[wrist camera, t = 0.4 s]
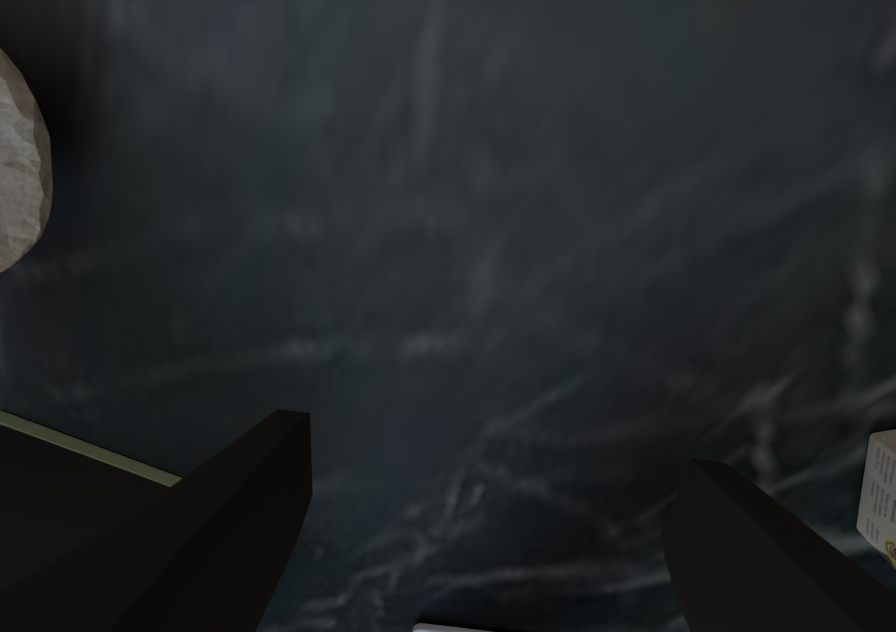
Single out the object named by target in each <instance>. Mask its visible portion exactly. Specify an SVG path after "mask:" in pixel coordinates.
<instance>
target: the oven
mask: <svg viewBox="0 0 896 632" xmlns="http://www.w3.org/2000/svg"><path fill="white" fill-rule="evenodd" d="M181 479H182V478H181V477H178V476H175V475H173V474H170V473H167V472H165V471H162V470H159V469H157V468H154V467H151V466H149V465H146V464H143V463H141V462H138V461H135V460H133V459H130V458H127V457H125V456H122V455H119V454H117V453H114V452H111V451H108V450H106V449H103V448H100V447H98V446H95V445H92V444H90V443H87V442H84V441H82V440H79V439H76V438H74V437H71V436H68V435H66V434H63V433H60V432H58V431H55V430H52V429H50V428H47V427H44V426H41V425H39V424H36V423H33V422H31V421H28V420H25V419H23V418H20V417H17V416H15V415H12V414H9V413H7V412H4V411H0V590H2V589H4V588H6V587H7V586H9V585H11V584H13V583H15V582H16V581H18V580H20V579H22V578H23V577H25V576H27V575H29V574H30V573H32V572H34V571H36V570H37V569H39V568H41V567H43V566H44V565H46V564H48V563H50V562H51V561H53V560H55V559H57V558H58V557H60V556H62V555H64V554H65V553H67V552H69V551H70V550H72V549H74V548H75V547H77V546H79V545H80V544H82V543H84V542H85V541H87V540H89V539H90V538H92V537H94V536H95V535H97V534H99V533H100V532H102V531H103V530H105V529H107V528H108V527H110V526H111V525H113V524H114V523H116V522H117V521H119V520H120V519H122V518H124V517H125V516H127V515H128V514H130V513H131V512H133V511H134V510H136V509H137V508H139V507H140V506H142V505H143V504H145V503H146V502H148V501H149V500H151V499H152V498H154V497H156V496H157V495H159V494H160V493H162V492H163V491H165V490H166V489H168V488H169V487H171V486H172V485H174V484H175V483H177V482H178V481H180V480H181Z"/></svg>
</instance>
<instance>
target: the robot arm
mask: <svg viewBox="0 0 896 632" xmlns="http://www.w3.org/2000/svg"><path fill="white" fill-rule="evenodd" d="M312 494H313V492H312V463H311V434H310V413H305V412H296V411H288V410H280V409H278V410H277V411H275V412H274V413H272V414H271V415H269V416H268V417H267V418H265V419H264V420H262V421H261V422H260V423H258V424H257V425H256V426H254V427H253V428H252V429H250V430H249V431H247V432H246V433H245V434H243V435H242V436H241V437H239V438H238V439H237V440H235V441H234V442H232V443H231V444H230V445H228V446H227V447H226V448H224V449H223V450H222V451H220V452H219V453H217V454H216V455H215V456H213V457H212V458H211V459H209V460H208V461H206V462H205V463H203V464H202V465H201V466H199V467H198V468H196V469H195V470H194V471H192V472H191V473H189V474H188V475H187V476H185V477H184V478H182V479H181V480H180V481H178V482H177V483H175V484H174V485H172V486H171V487H169V488H168V489H166V490H165V491H163V492H162V493H160V494H159V495H157V496H156V497H154V498H152V499H151V500H149V501H148V502H146V503H145V504H143V505H142V506H140V507H139V508H137V509H136V510H134V511H133V512H131V513H130V514H128V515H127V516H125V517H124V518H122V519H120V520H119V521H117V522H116V523H114V524H113V525H111V526H110V527H108V528H107V529H105V530H103V531H102V532H100V533H99V534H97V535H95V536H94V537H92V538H90V539H89V540H87V541H85V542H84V543H82V544H80V545H79V546H77V547H75V548H74V549H72V550H70V551H69V552H67V553H65V554H64V555H62V556H60V557H58V558H57V559H55V560H53V561H51V562H50V563H48V564H46V565H44V566H43V567H41V568H39V569H37V570H36V571H34V572H32V573H30V574H29V575H27V576H25V577H23V578H22V579H20V580H18V581H16V582H15V583H13V584H11V585H9V586H7V587H6V588H4V589H2V590H0V632H255V630H256V628H257V626H258V624H259V622H260V620H261V618H262V616H263V614H264V611H265V609H266V607H267V605H268V603H269V601H270V599H271V597H272V595H273V592H274V590H275V588H276V586H277V584H278V582H279V580H280V577H281V575H282V573H283V571H284V569H285V567H286V565H287V562H288V560H289V558H290V556H291V554H292V551H293V549H294V547H295V544H296V541H297V539H298V536H299V533H300V530H301V527H302V524H303V522H304V519H305V516H306V513H307V510H308V507H309V503H310V500H311V497H312ZM659 538H660V541H661V545H662V549H663V553H664V556H665V560H666V564H667V568H668V571H669V574H670V578H671V581H672V584H673V588H674V591H675V594H676V597H677V599H678V602H679V604H680V607H681V609H682V612H683V614H684V617H685V619H686V622H687V624H688V627H689V629H690V632H896V595H895V594H894V593H893V592H891V591H890V590H889V589H888V588H886V587H885V586H884V585H882V584H881V583H880V582H878V581H877V580H876V579H874V578H873V577H872V576H870V575H869V574H868V573H867V572H865V571H864V570H863V569H861V568H860V567H859V566H858V565H856V564H855V563H854V562H852V561H851V560H850V559H848V558H847V557H846V556H845V555H843V554H842V553H841V552H840V551H838V550H837V549H836V548H834V547H833V546H832V545H831V544H829V543H828V542H827V541H826V540H824V539H823V538H822V537H821V536H819V535H818V534H817V533H815V532H814V531H813V530H812V529H810V528H809V527H808V526H807V525H805V524H804V523H803V522H802V521H800V520H799V519H798V518H797V517H795V516H794V515H793V514H792V513H790V512H789V511H788V510H786V509H785V508H784V507H783V506H781V505H780V504H779V503H778V502H776V501H775V500H774V499H773V498H771V497H770V496H769V495H768V494H766V493H765V492H764V491H762V490H761V489H760V488H759V487H757V486H756V485H755V484H753V483H752V482H751V481H749V480H748V479H747V478H745V477H744V476H743V475H741V474H740V473H739V472H737V471H736V470H735V469H733V468H732V467H730V466H729V465H727V464H726V463H724V462H718V461H709V460H701V459H693V458H691V460H690V462H689V465H688V467H687V470H686V472H685V475H684V477H683V480H682V482H681V484H680V487H679V489H678V492H677V494H676V497H675V499H674V501H673V504H672V506H671V509H670V511H669V514H668V516H667V519H666V521H665V523H664V526H663V528H662V531H661V533H660V536H659ZM413 632H493V631H485V630H476V629H468V628H459V627H451V626H443V625H434V624H426V623H418V624H416V625H415V626H414V627H413Z"/></svg>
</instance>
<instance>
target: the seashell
mask: <svg viewBox="0 0 896 632" xmlns="http://www.w3.org/2000/svg"><path fill="white" fill-rule="evenodd" d="M52 191H53V184H52V161H51V147H50V136H49V133H48V130H47V127H46V125H45V122H44V119H43V116H42V114H41V112H40V109H39V107H38V105H37V103H36V100H35V98H34V96H33V94H32V93H31V91H30V89H29V87H28V85H27V83H26V81H25V79H24V77H23V75H22V74H21V72H20V71H19V70H18V68H17V67H16V66H15V65H14V63H13V62H12V61H11V60H10V59H9V57H8V56H7V55H6V54H5V52H4V51H3V50H2V49H1V48H0V273H1V272H2V271H4V270H6V269H8V268H10V267H11V266H13V265H14V264H16V263H17V262H18V261H19V260H20V259H21V258H22V257H23V256H24V255H25V254H26V253H27V252H28V251H30V250H31V249H32V247H33V246H34V245H35V244H36V242H37V241H38V240H39V239H40V237H41V236H42V234H43V231H44V229H45V226H46V224H47V221H48V219H49V215H50V209H51V204H52Z"/></svg>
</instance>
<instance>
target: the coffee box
mask: <svg viewBox="0 0 896 632" xmlns="http://www.w3.org/2000/svg"><path fill="white" fill-rule="evenodd" d="M857 529H858V531H859V532H860V533H861V534H862V535H863V536H864V537H865V538H866V540H867V541H868V542H869V543H870V544H871V545H872V546H873V547H874V548H875V549H876V550H877V551H878V552H879V553H880V554H881V555H882V556H883V557H884V558H885V559H886V560H887V562H888V563H889V564H890V565H891V566H892V567H893V568H894V569H895V570H896V429H894V430H887V431H881V432H876V433H872V434H871V435H870V438H869V443H868V450H867V456H866V464H865V471H864V477H863V484H862V491H861V497H860V504H859V511H858V518H857Z"/></svg>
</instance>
